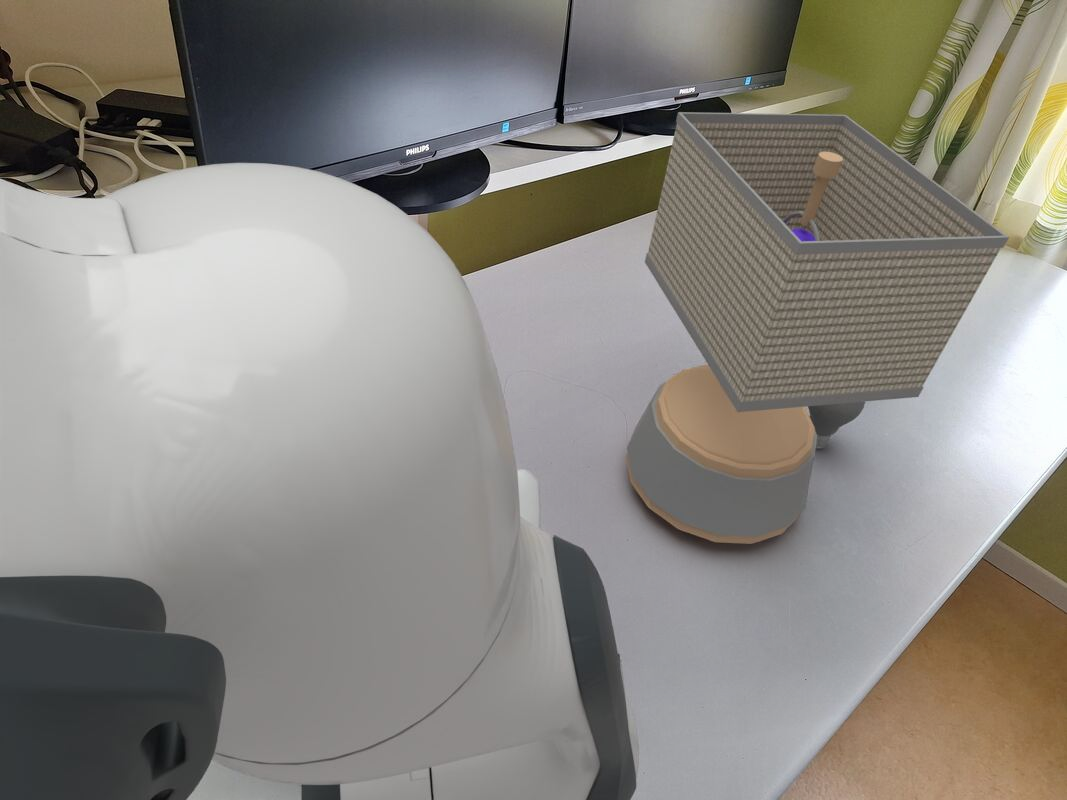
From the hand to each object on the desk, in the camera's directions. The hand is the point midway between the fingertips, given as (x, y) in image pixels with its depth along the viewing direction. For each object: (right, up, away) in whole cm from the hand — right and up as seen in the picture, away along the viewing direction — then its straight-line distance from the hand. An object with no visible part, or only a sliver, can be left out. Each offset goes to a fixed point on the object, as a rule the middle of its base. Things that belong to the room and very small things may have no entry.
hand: (395, 421), depth 57 cm
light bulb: (+43, -4, +31) cm, 53 cm away
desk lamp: (+29, -8, +25) cm, 39 cm away
